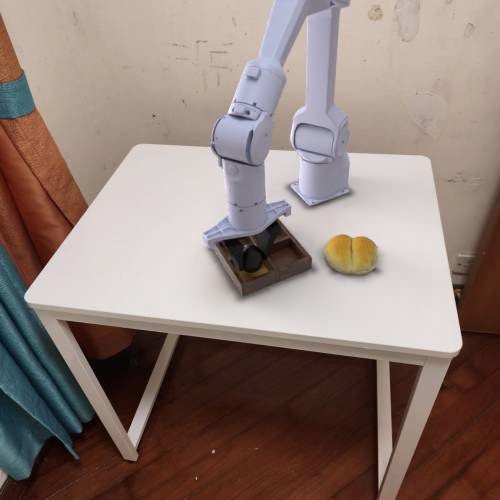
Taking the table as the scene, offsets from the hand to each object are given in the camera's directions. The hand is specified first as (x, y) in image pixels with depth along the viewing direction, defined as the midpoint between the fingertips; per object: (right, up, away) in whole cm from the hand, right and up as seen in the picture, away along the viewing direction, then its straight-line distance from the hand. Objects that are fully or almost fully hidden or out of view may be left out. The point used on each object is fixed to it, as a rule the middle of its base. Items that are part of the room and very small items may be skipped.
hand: (251, 261), depth 74 cm
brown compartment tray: (+2, 0, +5) cm, 5 cm away
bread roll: (+17, 0, +4) cm, 18 cm away
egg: (0, -1, +1) cm, 2 cm away
